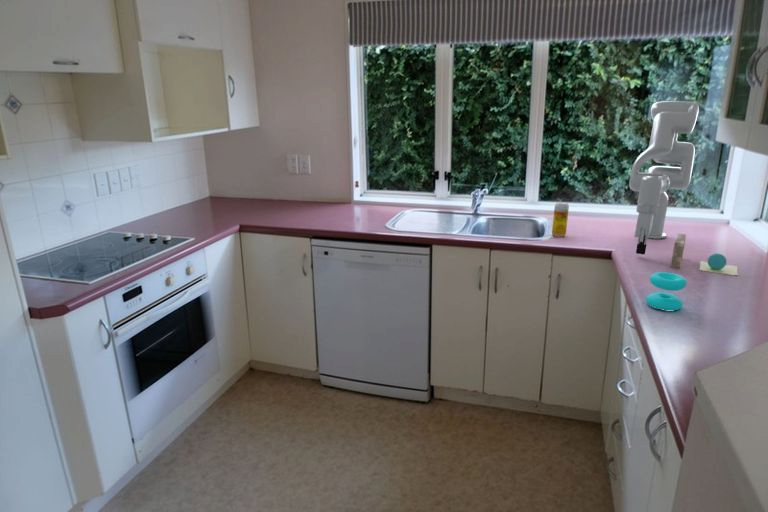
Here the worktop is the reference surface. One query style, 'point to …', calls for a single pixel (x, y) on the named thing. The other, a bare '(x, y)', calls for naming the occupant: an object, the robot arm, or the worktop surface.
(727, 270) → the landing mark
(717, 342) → the worktop surface
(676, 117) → the robot arm
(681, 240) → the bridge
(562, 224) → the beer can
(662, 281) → the donuts
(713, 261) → the ball
